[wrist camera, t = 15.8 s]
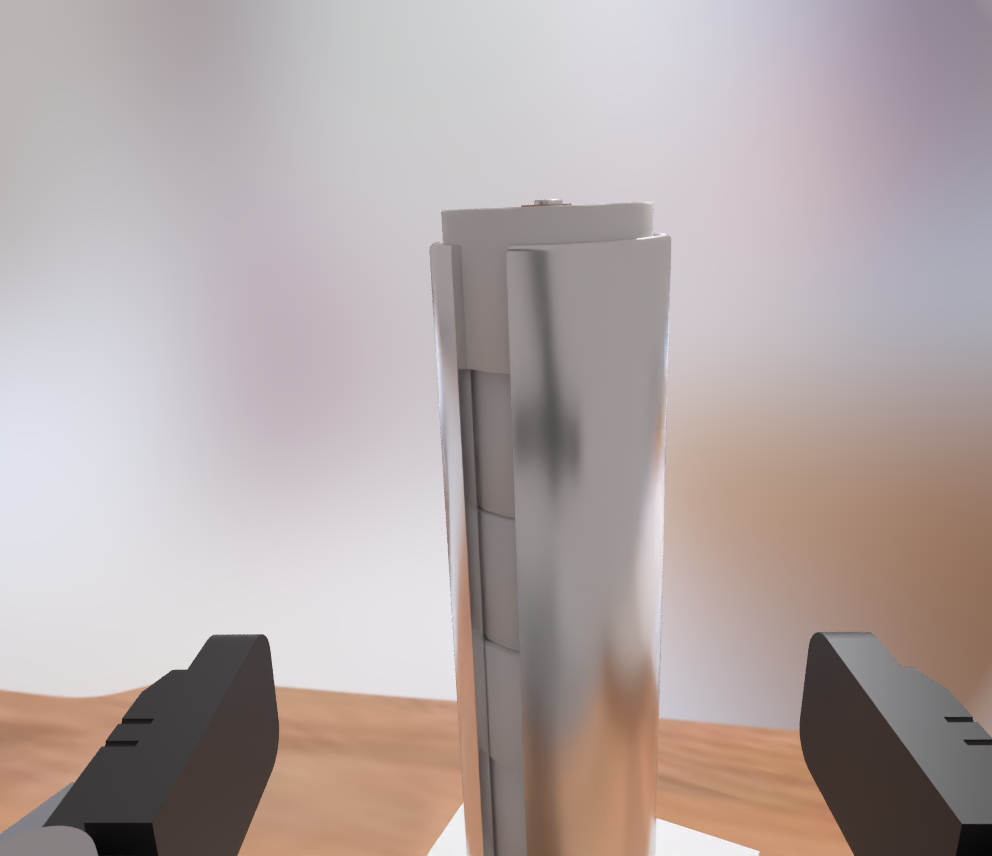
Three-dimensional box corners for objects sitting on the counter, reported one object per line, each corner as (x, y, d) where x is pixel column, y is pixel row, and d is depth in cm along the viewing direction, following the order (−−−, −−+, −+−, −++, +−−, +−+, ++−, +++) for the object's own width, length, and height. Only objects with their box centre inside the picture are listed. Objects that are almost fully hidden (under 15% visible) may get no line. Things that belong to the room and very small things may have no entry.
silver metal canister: (692, 967, 25) (727, 192, 18) (517, 1054, 23) (481, 200, 16) (594, 829, 31) (592, 199, 24) (446, 887, 29) (397, 206, 22)
